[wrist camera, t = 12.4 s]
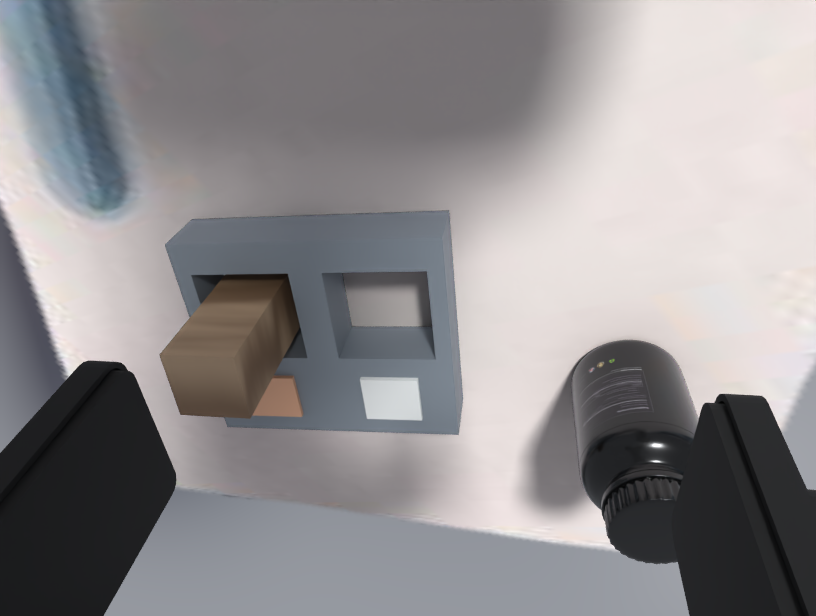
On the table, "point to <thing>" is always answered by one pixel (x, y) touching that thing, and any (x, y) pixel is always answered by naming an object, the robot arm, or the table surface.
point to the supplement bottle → (633, 442)
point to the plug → (232, 346)
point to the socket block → (340, 317)
